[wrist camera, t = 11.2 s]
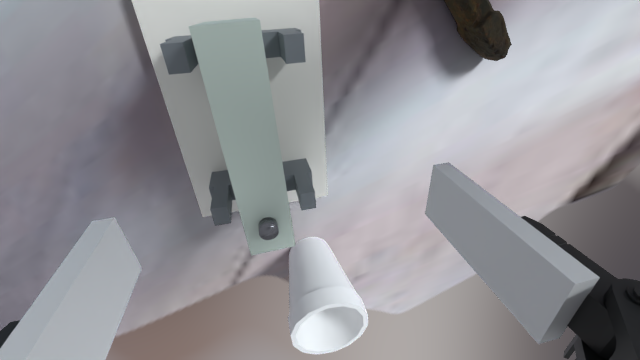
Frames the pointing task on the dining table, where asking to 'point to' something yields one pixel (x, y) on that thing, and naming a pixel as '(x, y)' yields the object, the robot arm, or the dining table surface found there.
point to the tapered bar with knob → (246, 127)
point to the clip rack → (285, 82)
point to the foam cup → (322, 300)
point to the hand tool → (481, 27)
